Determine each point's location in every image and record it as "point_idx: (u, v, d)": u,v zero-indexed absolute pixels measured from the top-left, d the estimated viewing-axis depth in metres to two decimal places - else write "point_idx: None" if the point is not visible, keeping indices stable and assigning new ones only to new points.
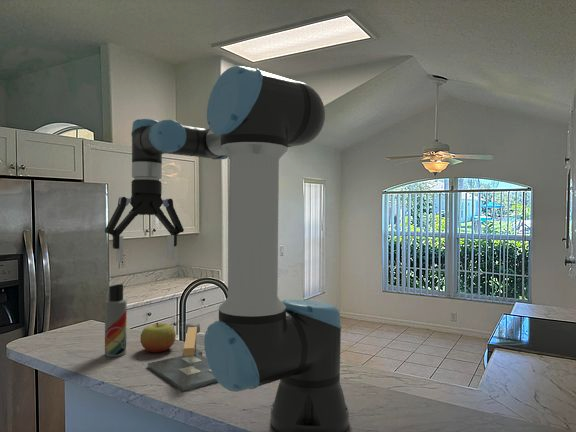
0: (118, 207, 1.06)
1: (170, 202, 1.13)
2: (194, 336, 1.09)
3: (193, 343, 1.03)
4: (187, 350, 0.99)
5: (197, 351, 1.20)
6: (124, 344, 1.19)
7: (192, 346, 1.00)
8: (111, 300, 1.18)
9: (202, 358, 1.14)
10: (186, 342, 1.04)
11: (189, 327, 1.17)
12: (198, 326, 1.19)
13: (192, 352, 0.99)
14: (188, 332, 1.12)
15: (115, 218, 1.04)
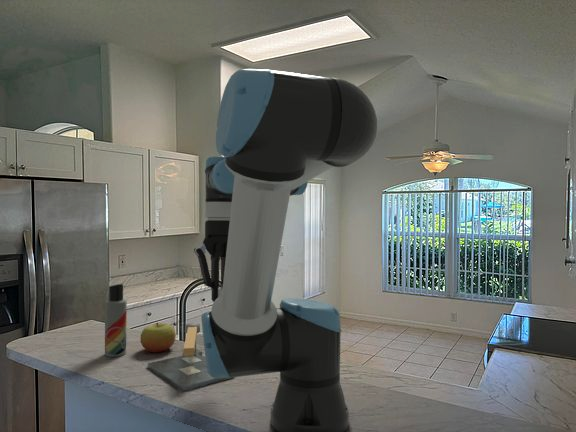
0: (200, 259, 1.02)
1: None
2: (194, 336, 1.09)
3: (193, 343, 1.03)
4: (187, 350, 0.99)
5: (197, 351, 1.20)
6: (124, 344, 1.19)
7: (192, 346, 1.00)
8: (111, 300, 1.18)
9: (202, 358, 1.14)
10: (186, 342, 1.04)
11: (189, 327, 1.17)
12: (198, 326, 1.19)
13: (192, 352, 0.99)
14: (188, 332, 1.12)
15: (205, 271, 1.01)
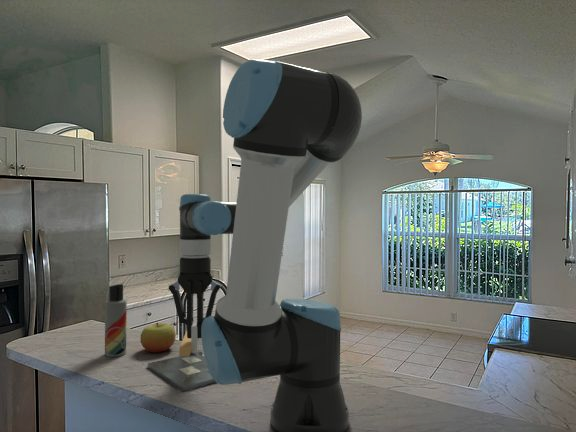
0: None
1: (216, 288, 1.03)
2: None
3: (190, 343, 1.03)
4: (183, 350, 0.99)
5: None
6: (124, 344, 1.19)
7: (188, 346, 1.00)
8: (111, 300, 1.18)
9: (202, 358, 1.14)
10: (183, 342, 1.03)
11: None
12: None
13: (188, 352, 0.99)
14: None
15: (177, 308, 1.03)
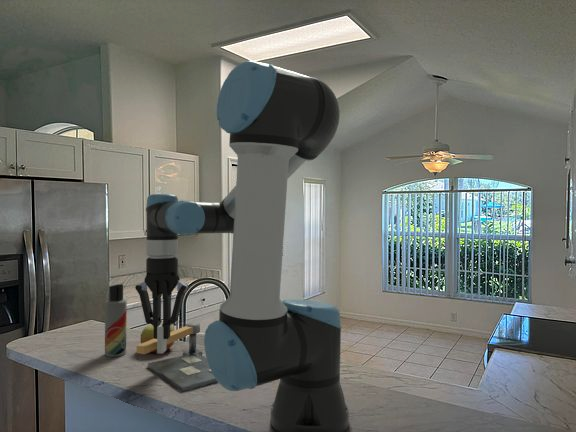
0: None
1: (181, 289, 1.03)
2: None
3: (153, 342, 1.03)
4: (139, 348, 1.00)
5: (197, 351, 1.20)
6: (124, 344, 1.19)
7: (146, 345, 1.01)
8: (111, 300, 1.18)
9: (202, 358, 1.14)
10: (151, 340, 1.05)
11: None
12: (195, 327, 1.19)
13: (143, 351, 1.00)
14: (173, 331, 1.13)
15: (143, 308, 1.03)
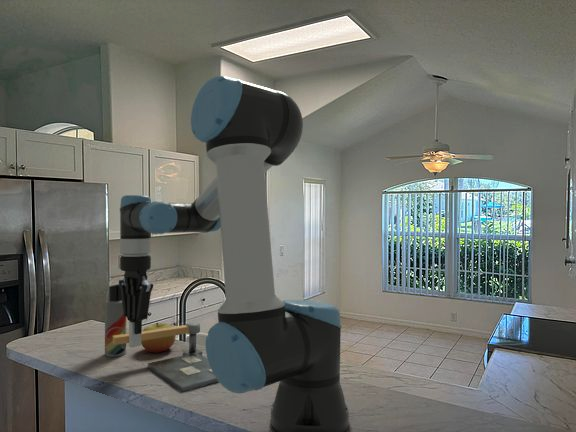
0: None
1: (142, 287, 1.04)
2: (152, 332, 1.13)
3: None
4: (113, 338, 1.08)
5: (197, 351, 1.20)
6: (124, 344, 1.19)
7: (119, 336, 1.08)
8: (111, 300, 1.18)
9: (202, 358, 1.14)
10: None
11: (182, 325, 1.19)
12: (191, 327, 1.18)
13: (114, 341, 1.07)
14: (165, 328, 1.16)
15: (122, 301, 1.11)
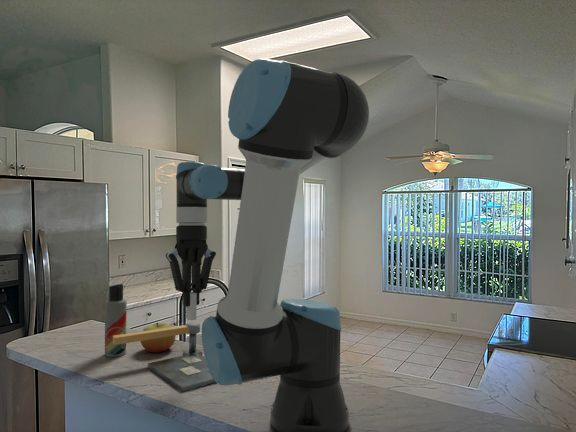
0: (172, 264, 1.02)
1: (212, 254, 1.07)
2: (152, 331, 1.13)
3: (129, 335, 1.09)
4: (113, 338, 1.08)
5: (197, 351, 1.20)
6: (124, 344, 1.19)
7: (119, 336, 1.08)
8: (111, 300, 1.18)
9: (202, 358, 1.14)
10: (131, 333, 1.11)
11: (182, 325, 1.19)
12: (191, 327, 1.18)
13: (114, 341, 1.07)
14: (165, 328, 1.16)
15: (177, 276, 1.01)
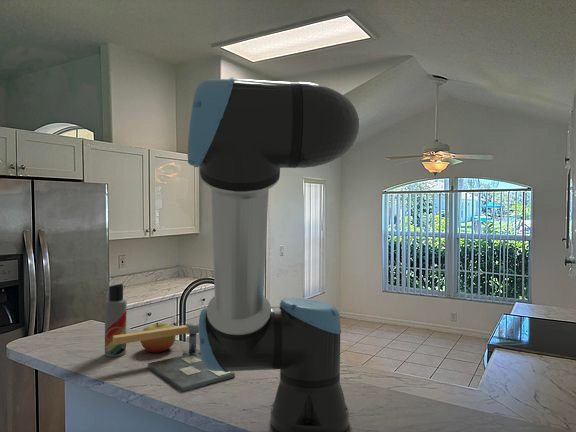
0: None
1: None
2: (152, 331, 1.13)
3: (129, 335, 1.09)
4: (113, 338, 1.08)
5: (197, 351, 1.20)
6: (124, 344, 1.19)
7: (119, 336, 1.08)
8: (111, 300, 1.18)
9: None
10: (131, 333, 1.11)
11: (182, 325, 1.19)
12: (191, 327, 1.18)
13: (114, 341, 1.07)
14: (165, 328, 1.16)
15: None
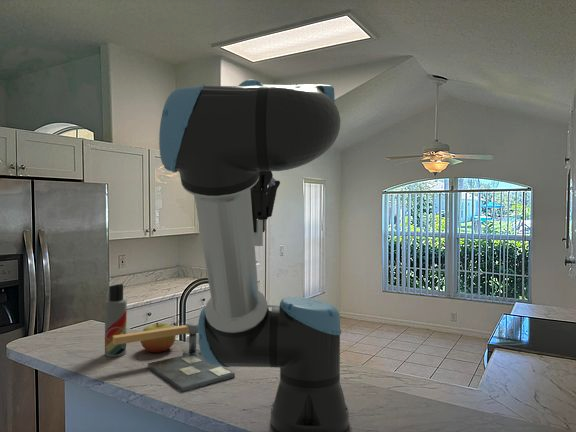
0: None
1: (277, 183, 1.08)
2: (152, 331, 1.13)
3: (129, 335, 1.09)
4: (113, 338, 1.08)
5: (197, 351, 1.20)
6: (124, 344, 1.19)
7: (119, 336, 1.08)
8: (111, 300, 1.18)
9: (202, 358, 1.14)
10: (131, 333, 1.11)
11: (182, 325, 1.19)
12: (191, 327, 1.18)
13: (114, 341, 1.07)
14: (165, 328, 1.16)
15: None
